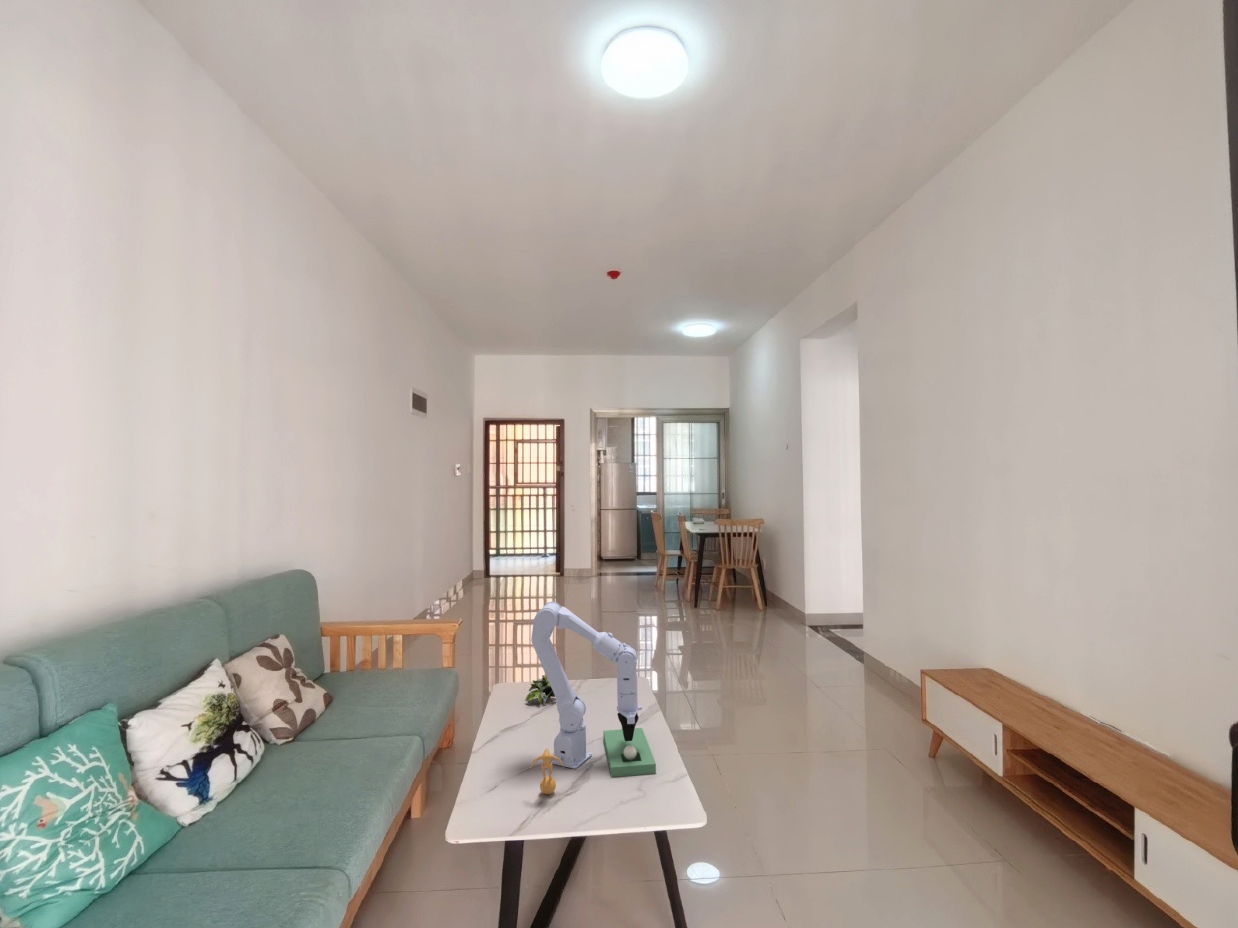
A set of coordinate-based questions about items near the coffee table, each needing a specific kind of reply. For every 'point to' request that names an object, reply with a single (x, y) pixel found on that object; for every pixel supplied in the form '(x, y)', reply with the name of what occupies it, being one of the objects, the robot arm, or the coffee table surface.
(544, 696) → the passion flower
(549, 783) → the figurine
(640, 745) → the putting mat
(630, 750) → the ball
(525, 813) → the coffee table surface
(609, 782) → the coffee table surface
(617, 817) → the coffee table surface
